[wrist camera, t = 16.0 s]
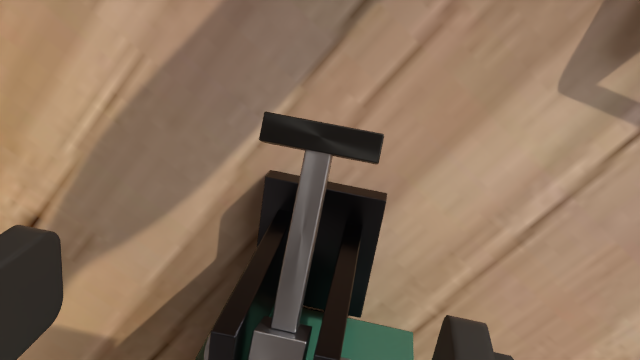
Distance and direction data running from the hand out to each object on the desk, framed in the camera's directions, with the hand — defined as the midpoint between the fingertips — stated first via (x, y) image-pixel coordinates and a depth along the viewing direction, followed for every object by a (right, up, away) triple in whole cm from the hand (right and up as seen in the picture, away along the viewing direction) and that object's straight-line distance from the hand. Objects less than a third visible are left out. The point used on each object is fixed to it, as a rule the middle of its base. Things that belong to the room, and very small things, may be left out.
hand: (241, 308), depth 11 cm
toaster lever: (+1, -1, +12) cm, 13 cm away
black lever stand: (+2, -1, +21) cm, 22 cm away
